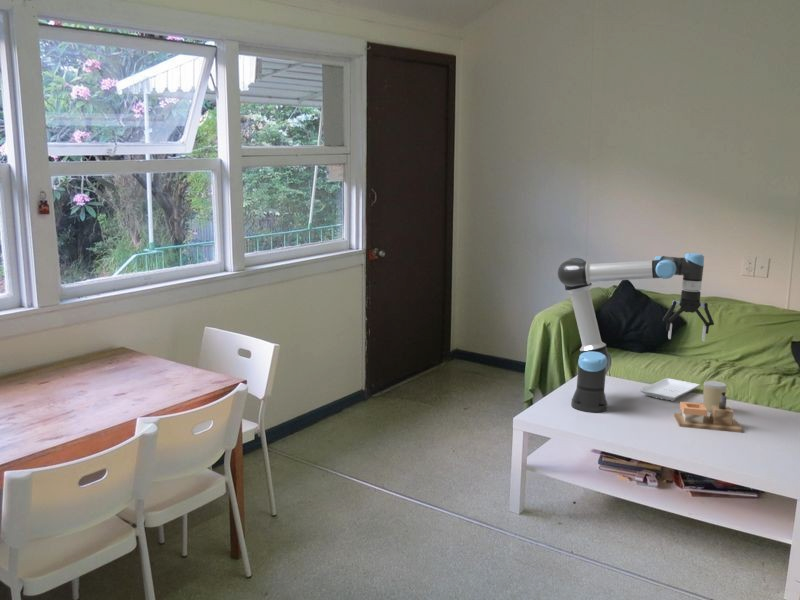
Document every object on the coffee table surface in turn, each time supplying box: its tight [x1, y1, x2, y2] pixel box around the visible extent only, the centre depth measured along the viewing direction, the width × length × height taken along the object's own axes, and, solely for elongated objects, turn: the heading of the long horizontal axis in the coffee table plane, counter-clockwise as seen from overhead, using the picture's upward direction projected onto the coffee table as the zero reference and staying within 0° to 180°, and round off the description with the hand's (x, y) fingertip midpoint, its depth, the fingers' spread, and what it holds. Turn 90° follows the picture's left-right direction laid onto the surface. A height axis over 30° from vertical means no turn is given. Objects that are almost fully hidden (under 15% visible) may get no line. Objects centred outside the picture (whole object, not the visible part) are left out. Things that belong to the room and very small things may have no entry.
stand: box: [673, 395, 744, 433], centre depth 300 cm, size 24×14×12 cm, turn 78°
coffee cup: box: [702, 380, 727, 413], centre depth 319 cm, size 9×9×12 cm
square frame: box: [679, 401, 708, 416], centre depth 301 cm, size 9×9×2 cm
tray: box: [639, 377, 701, 401], centre depth 344 cm, size 17×31×4 cm, turn 138°
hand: (686, 339), depth 311 cm, fingers open, 13 cm apart
